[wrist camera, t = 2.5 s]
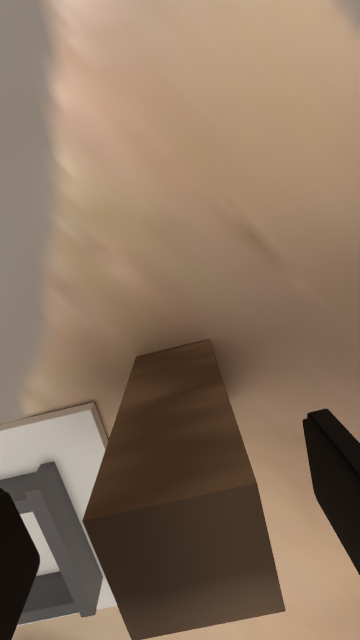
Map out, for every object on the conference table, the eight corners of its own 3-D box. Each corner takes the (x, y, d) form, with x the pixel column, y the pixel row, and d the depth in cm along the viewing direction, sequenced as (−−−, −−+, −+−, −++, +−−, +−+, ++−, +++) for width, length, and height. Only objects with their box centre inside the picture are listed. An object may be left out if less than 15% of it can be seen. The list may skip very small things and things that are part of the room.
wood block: (208, 339, 16) (256, 482, 7) (224, 404, 17) (285, 610, 8) (136, 356, 17) (82, 520, 7) (155, 420, 18) (132, 641, 8)
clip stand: (94, 401, 17) (79, 432, 15) (159, 583, 21) (157, 635, 18) (-137, 456, 18) (-193, 495, 15) (-36, 623, 21) (-67, 679, 19)
